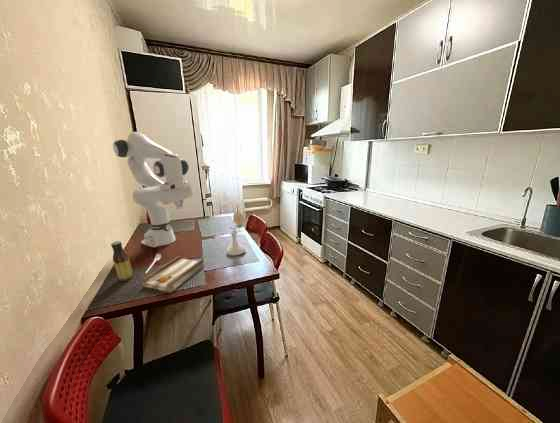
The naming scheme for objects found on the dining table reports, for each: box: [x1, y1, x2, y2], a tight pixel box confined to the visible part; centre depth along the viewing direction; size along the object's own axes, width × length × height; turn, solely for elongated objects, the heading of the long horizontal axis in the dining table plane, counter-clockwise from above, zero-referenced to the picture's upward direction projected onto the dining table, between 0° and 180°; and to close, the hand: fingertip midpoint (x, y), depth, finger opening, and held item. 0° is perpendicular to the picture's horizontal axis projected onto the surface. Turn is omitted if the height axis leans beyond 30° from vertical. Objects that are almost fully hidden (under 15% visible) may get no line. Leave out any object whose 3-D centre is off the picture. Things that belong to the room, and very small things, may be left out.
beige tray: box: [141, 255, 205, 293], centre depth 117 cm, size 16×24×4 cm, turn 161°
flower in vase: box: [225, 211, 246, 256], centre depth 136 cm, size 13×11×25 cm
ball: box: [160, 275, 169, 283], centre depth 110 cm, size 4×4×4 cm
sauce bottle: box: [110, 240, 134, 282], centre depth 114 cm, size 7×6×20 cm
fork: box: [145, 253, 162, 274], centre depth 130 cm, size 3×20×2 cm, turn 8°
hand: (180, 208), depth 131 cm, fingers closed
